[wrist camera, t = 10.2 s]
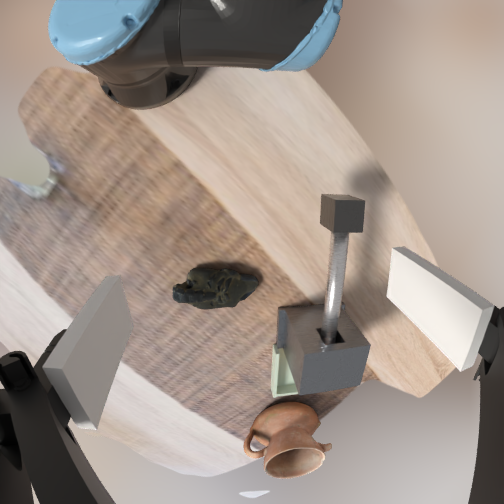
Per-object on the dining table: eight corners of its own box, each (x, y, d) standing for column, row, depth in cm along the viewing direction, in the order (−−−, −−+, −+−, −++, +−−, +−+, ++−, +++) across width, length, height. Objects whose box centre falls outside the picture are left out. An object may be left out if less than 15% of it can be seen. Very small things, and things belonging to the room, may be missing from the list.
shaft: (321, 194, 39) (335, 199, 34) (348, 195, 39) (365, 200, 34) (307, 361, 47) (315, 380, 42) (329, 358, 47) (339, 376, 43)
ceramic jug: (325, 392, 59) (345, 439, 45) (312, 432, 63) (326, 476, 49) (243, 396, 57) (248, 449, 43) (239, 436, 61) (243, 484, 47)
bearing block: (278, 307, 50) (297, 355, 38) (343, 302, 52) (376, 343, 39) (276, 345, 53) (292, 396, 40) (337, 338, 54) (365, 383, 41)
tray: (273, 344, 53) (275, 354, 50) (340, 337, 54) (346, 346, 51) (270, 387, 56) (273, 397, 53) (332, 379, 58) (336, 389, 55)
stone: (256, 300, 50) (261, 316, 45) (177, 304, 48) (174, 321, 43) (256, 262, 48) (262, 275, 43) (173, 266, 46) (168, 279, 41)
